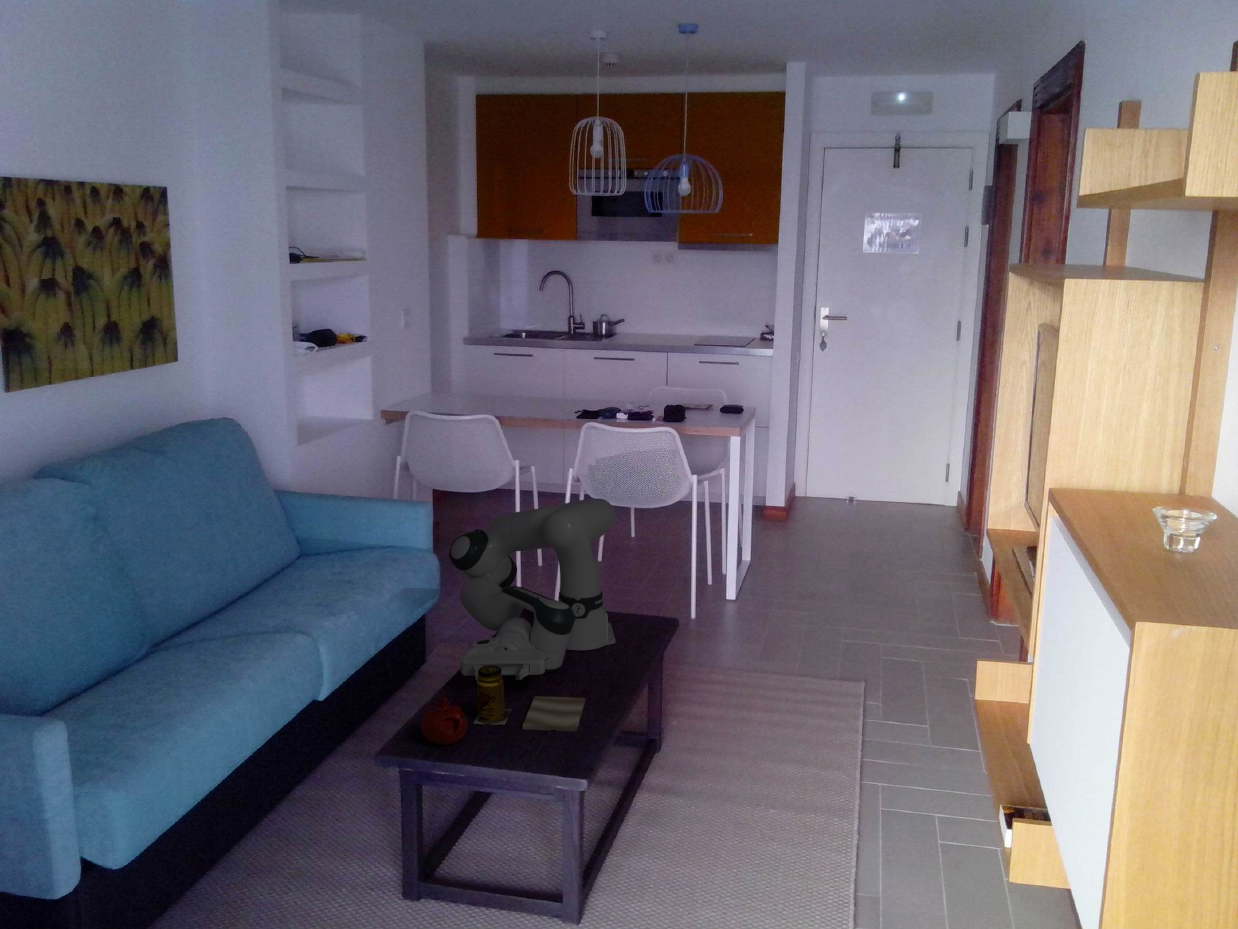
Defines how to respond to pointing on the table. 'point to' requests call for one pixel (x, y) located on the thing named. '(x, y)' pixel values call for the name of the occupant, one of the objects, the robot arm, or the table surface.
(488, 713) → the condiment
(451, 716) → the pomegranate
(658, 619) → the table surface
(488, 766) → the table surface
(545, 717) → the board
